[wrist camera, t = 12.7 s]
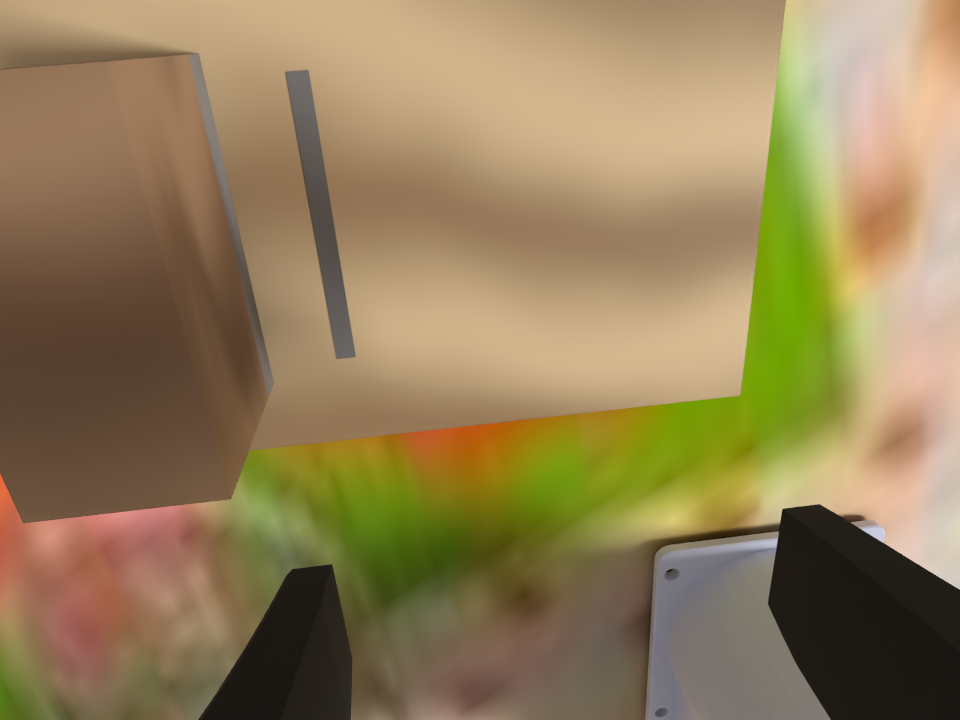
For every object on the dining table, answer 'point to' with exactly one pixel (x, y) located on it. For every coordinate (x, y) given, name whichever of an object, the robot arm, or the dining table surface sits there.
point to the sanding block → (121, 293)
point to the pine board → (472, 193)
